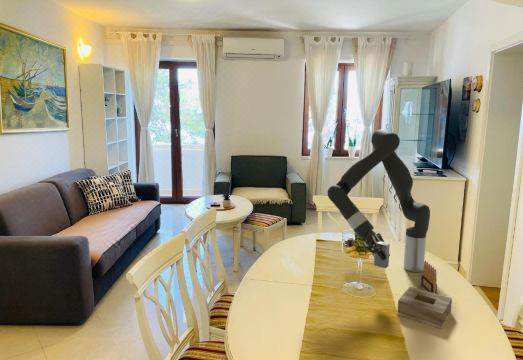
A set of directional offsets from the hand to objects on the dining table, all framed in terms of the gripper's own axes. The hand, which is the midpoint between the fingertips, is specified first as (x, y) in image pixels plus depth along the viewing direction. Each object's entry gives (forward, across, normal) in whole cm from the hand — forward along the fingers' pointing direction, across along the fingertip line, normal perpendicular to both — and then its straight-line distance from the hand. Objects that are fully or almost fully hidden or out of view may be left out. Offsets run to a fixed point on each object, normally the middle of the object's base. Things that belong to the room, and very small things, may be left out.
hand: (386, 257), depth 158 cm
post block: (+24, -3, 0) cm, 25 cm away
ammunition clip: (+22, +18, +4) cm, 28 cm away
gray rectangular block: (+1, 0, +4) cm, 5 cm away
